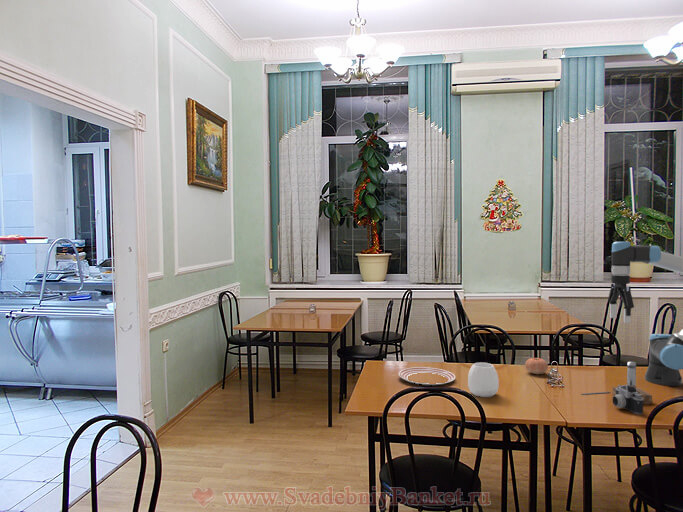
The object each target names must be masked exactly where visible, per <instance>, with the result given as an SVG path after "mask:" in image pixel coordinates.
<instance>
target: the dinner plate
mask: <svg viewBox="0 0 683 512" xmlns="http://www.w3.org/2000/svg"><path fill="white" fill-rule="evenodd" d="M417 373H432V374H438V375H441V376H443V377H446V378H447V379H448V381H447V382H445V383H436V384H429V383H418V382H413V381H409V380H408V376H410V375H412V374H417ZM398 376H399V377H400V378H401V379H402V380H404V381H405V382H408V383H411V384H414V383H415V385H419V384H422V385H421V386H430V385H432V386H440V385H445V384H448V383H451V382H453V381H454V380H456V375H455V374H454V373H453V372H452V371H451V372H450V371H448V370H445V369H441V368H436V367H428V366H426V367H425V366H423V367H422V366H414V367H408V368H403V369H402V370H400V371H399V372H398Z"/></svg>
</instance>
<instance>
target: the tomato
mask: <svg viewBox="0 0 683 512" xmlns="http://www.w3.org/2000/svg"><path fill="white" fill-rule="evenodd" d="M524 366H525V369H526V370H527V371H528V372H529V373H531V374H534V375H542V374H544V373H546V372H547V370H548V367H549V365H548V363H547V361H546V360H545V359H542V358H540V357H532V358H528V359H527V360H526V361H525V365H524Z"/></svg>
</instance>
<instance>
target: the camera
mask: <svg viewBox="0 0 683 512" xmlns="http://www.w3.org/2000/svg"><path fill="white" fill-rule="evenodd" d="M617 387H618V388H616V390H615V391H616V395H615V396H613V395H612V404H613V406H615V407H617V408H618V409H622V408H623V409H626V410H628V411H629V412H631V413H633V414H634V415H635V414H636V415H643V414H644V404H643V398H642V397H641V394H638V392H637V390H636V388H634V387H631V386H627V384H623V385H621V384H618V385H617Z"/></svg>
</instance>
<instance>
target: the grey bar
mask: <svg viewBox="0 0 683 512" xmlns="http://www.w3.org/2000/svg"><path fill="white" fill-rule="evenodd" d="M626 368H627V370H626V375H627V376H626V385H627V386H631V387H634V388H636V384H637V363H636V362H635V361H627V364H626Z"/></svg>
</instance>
